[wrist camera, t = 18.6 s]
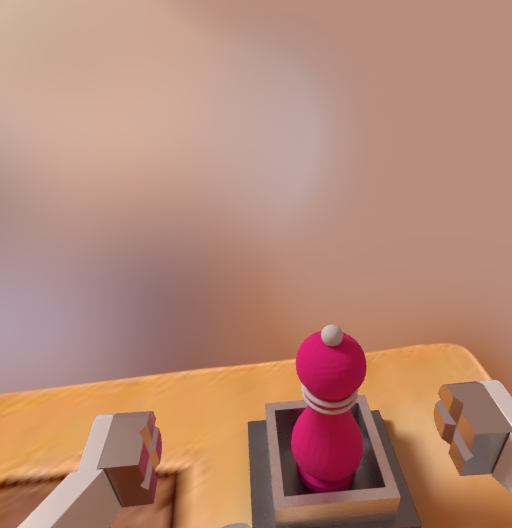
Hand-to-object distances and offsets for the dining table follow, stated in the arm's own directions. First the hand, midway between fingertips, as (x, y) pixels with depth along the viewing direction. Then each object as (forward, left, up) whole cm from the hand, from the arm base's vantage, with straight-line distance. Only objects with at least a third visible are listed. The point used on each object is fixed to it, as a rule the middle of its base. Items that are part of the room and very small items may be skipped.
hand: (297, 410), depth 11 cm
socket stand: (+5, +17, -34) cm, 38 cm away
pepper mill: (+5, +17, -33) cm, 37 cm away
